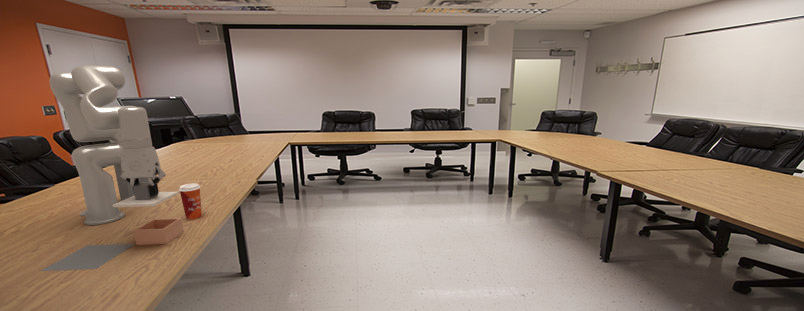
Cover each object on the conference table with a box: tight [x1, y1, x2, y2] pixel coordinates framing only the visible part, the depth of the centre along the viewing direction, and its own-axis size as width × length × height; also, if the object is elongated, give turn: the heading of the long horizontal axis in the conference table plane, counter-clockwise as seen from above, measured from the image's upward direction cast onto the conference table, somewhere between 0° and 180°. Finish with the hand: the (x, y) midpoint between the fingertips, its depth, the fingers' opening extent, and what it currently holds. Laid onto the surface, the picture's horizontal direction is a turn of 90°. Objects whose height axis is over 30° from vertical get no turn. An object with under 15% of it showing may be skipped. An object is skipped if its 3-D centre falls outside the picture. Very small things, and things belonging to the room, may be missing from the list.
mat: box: [39, 243, 136, 272], centre depth 104 cm, size 16×16×1 cm
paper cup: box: [178, 182, 203, 220], centre depth 136 cm, size 8×8×14 cm
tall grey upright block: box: [113, 164, 153, 202], centre depth 158 cm, size 14×6×25 cm, turn 172°
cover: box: [112, 182, 179, 208], centre depth 112 cm, size 13×13×6 cm
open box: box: [133, 217, 185, 246], centre depth 116 cm, size 10×10×6 cm
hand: (146, 195), depth 112 cm, fingers closed on cover, 4 cm apart
